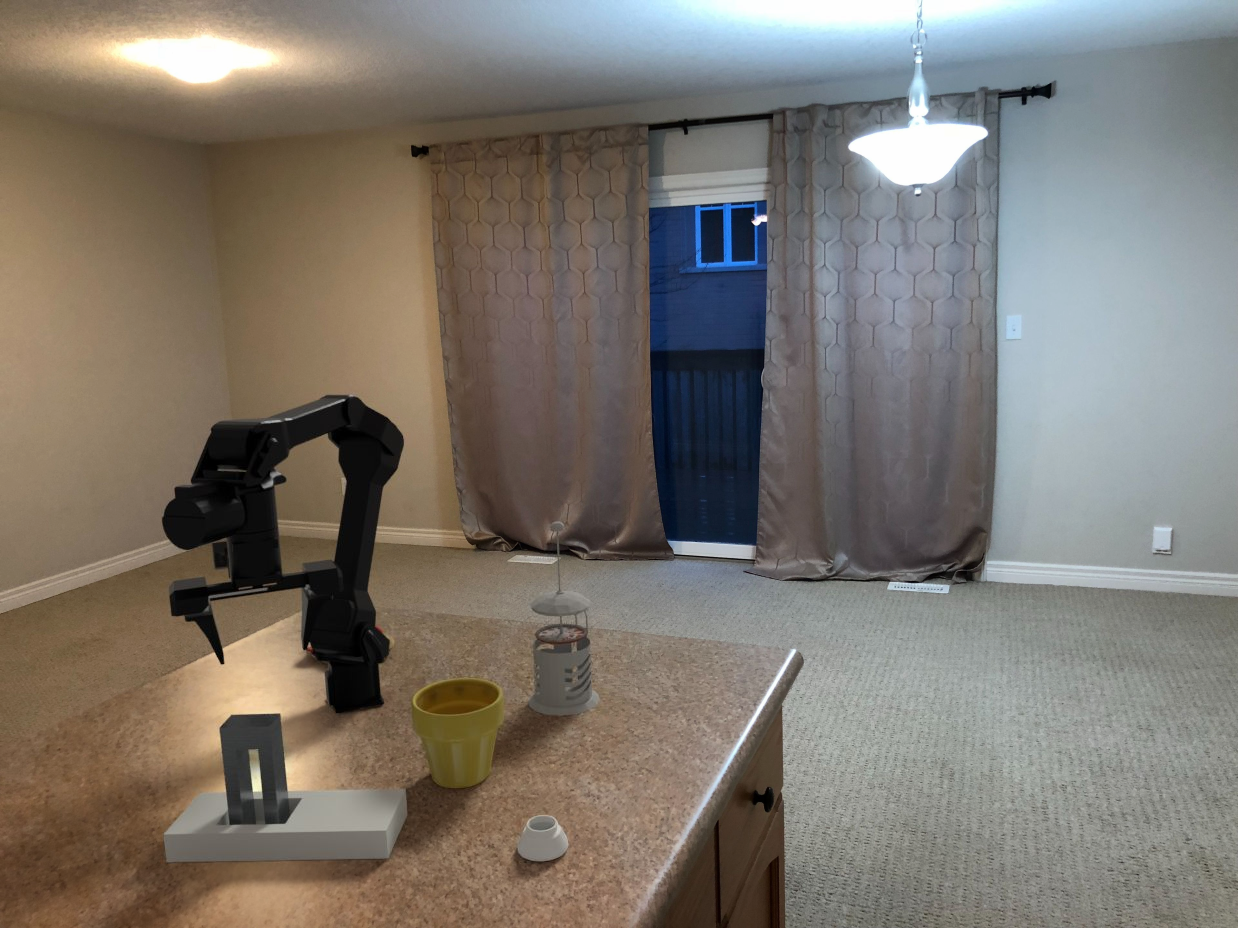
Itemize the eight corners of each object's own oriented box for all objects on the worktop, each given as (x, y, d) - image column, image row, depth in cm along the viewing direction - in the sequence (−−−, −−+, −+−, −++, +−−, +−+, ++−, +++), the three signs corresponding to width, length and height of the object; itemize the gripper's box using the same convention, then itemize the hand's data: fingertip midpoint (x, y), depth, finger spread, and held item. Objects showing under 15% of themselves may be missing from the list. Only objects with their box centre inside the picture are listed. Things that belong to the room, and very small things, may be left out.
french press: (515, 709, 126) (506, 527, 122) (553, 677, 137) (546, 508, 132) (582, 719, 122) (575, 532, 118) (615, 685, 133) (610, 512, 129)
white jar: (520, 868, 91) (571, 860, 92) (519, 840, 90) (570, 832, 91) (515, 839, 96) (564, 833, 97) (514, 813, 95) (563, 806, 96)
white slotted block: (202, 818, 101) (200, 792, 100) (407, 814, 101) (405, 788, 100) (166, 862, 93) (163, 834, 93) (388, 858, 93) (386, 830, 92)
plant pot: (509, 792, 105) (505, 709, 103) (414, 802, 103) (408, 718, 101) (504, 749, 115) (501, 673, 113) (418, 758, 113) (413, 681, 111)
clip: (242, 826, 98) (231, 714, 96) (290, 824, 98) (280, 713, 96) (231, 842, 95) (219, 727, 93) (280, 841, 95) (269, 726, 93)
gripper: (324, 506, 120) (333, 623, 123) (162, 524, 112) (176, 648, 115) (339, 523, 111) (349, 650, 113) (163, 544, 103) (178, 680, 105)
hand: (264, 656), depth 112 cm, fingers open, 9 cm apart
